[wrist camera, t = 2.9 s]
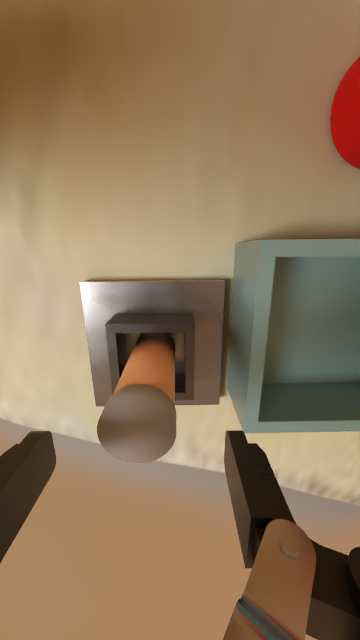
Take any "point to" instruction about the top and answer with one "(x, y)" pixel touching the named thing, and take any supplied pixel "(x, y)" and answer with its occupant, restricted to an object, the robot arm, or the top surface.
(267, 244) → the bin
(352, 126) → the soda can
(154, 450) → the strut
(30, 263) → the top surface
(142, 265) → the top surface
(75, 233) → the top surface
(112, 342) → the socket block
